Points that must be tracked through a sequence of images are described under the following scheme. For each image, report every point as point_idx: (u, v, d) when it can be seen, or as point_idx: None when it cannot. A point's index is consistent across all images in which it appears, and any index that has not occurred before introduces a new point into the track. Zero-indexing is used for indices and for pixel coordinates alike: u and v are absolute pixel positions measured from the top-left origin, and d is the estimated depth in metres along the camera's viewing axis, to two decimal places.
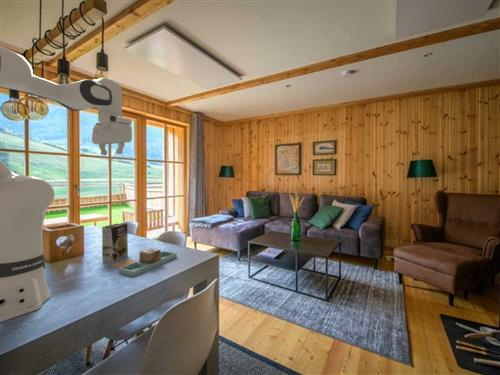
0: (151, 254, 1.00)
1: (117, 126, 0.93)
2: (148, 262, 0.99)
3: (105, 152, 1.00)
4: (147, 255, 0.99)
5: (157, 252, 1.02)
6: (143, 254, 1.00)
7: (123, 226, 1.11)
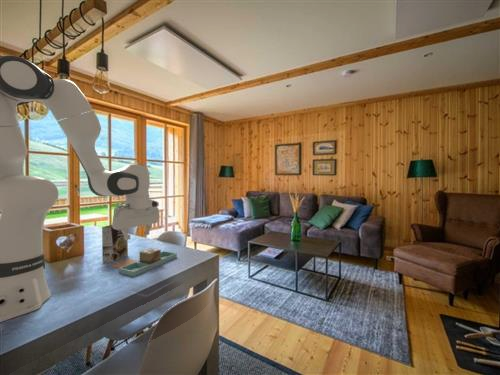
0: (151, 254, 1.00)
1: (153, 210, 1.02)
2: (148, 262, 0.99)
3: None
4: (147, 255, 0.99)
5: (157, 252, 1.02)
6: (143, 254, 1.00)
7: None
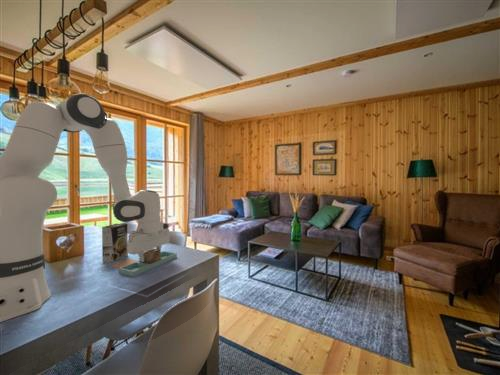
0: (151, 254, 1.00)
1: (164, 231, 1.07)
2: (148, 262, 0.99)
3: None
4: (147, 255, 0.99)
5: (157, 252, 1.02)
6: (143, 254, 1.00)
7: (123, 226, 1.11)
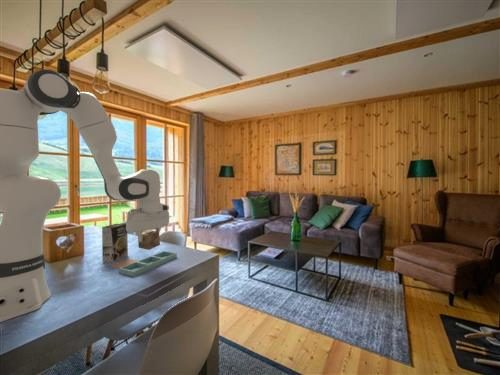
0: (149, 236, 0.98)
1: (164, 213, 1.07)
2: (147, 244, 0.98)
3: None
4: (145, 237, 0.98)
5: (156, 234, 1.01)
6: None
7: (123, 226, 1.11)
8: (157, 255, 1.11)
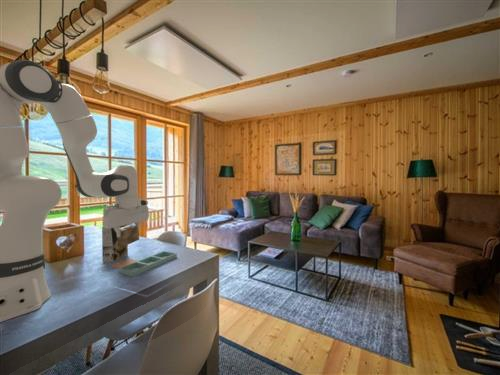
0: (127, 231, 0.99)
1: (143, 208, 1.07)
2: (125, 239, 0.99)
3: None
4: (123, 232, 0.99)
5: (134, 229, 1.02)
6: (120, 231, 1.00)
7: (123, 226, 1.11)
8: (157, 255, 1.11)
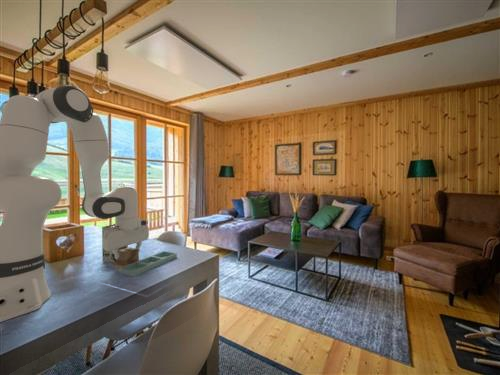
0: (128, 253, 1.00)
1: (143, 228, 1.07)
2: (125, 261, 1.00)
3: None
4: (124, 254, 1.00)
5: (135, 251, 1.03)
6: (120, 253, 1.01)
7: None
8: (157, 255, 1.11)
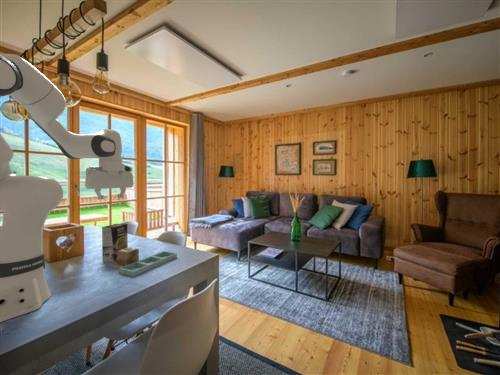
0: (128, 253, 1.00)
1: (127, 174, 1.09)
2: (125, 261, 1.00)
3: None
4: (124, 254, 1.00)
5: (135, 251, 1.03)
6: (120, 253, 1.01)
7: (123, 226, 1.11)
8: (157, 255, 1.11)
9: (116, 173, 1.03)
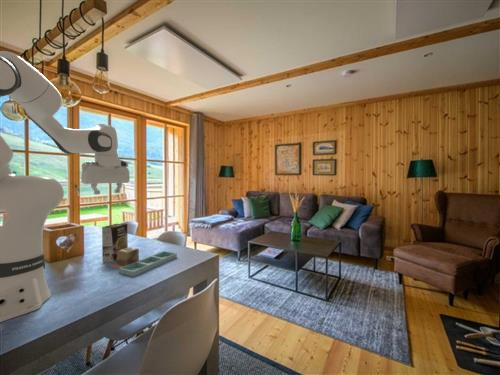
0: (128, 253, 1.00)
1: (123, 170, 1.10)
2: (125, 261, 1.00)
3: None
4: (124, 254, 1.00)
5: (135, 251, 1.03)
6: (120, 253, 1.01)
7: (123, 226, 1.11)
8: (157, 255, 1.11)
9: (112, 168, 1.04)
